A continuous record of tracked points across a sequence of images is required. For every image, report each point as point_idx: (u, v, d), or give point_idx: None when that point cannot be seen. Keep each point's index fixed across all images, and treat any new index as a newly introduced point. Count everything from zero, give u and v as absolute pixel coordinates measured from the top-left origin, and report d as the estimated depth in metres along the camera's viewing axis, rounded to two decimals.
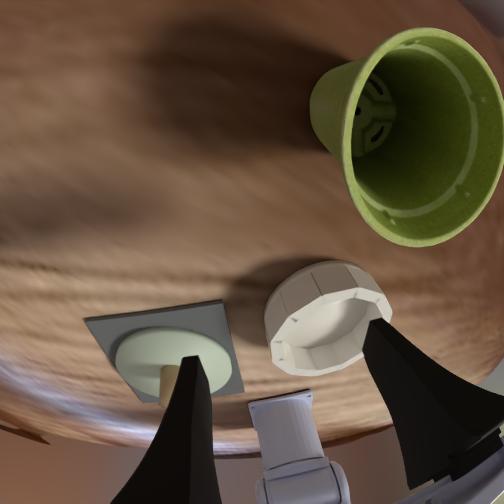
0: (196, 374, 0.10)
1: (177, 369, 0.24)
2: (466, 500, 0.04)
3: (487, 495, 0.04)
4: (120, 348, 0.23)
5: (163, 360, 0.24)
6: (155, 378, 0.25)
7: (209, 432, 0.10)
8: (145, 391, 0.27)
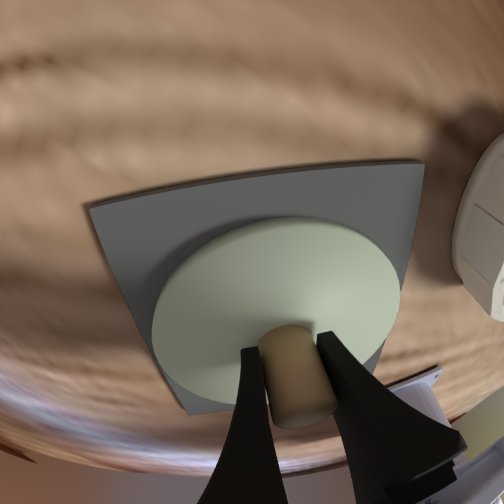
0: (261, 364, 0.10)
1: (305, 333, 0.11)
2: (466, 500, 0.04)
3: (487, 495, 0.04)
4: (173, 283, 0.10)
5: (275, 314, 0.11)
6: (239, 363, 0.12)
7: None
8: (205, 394, 0.14)
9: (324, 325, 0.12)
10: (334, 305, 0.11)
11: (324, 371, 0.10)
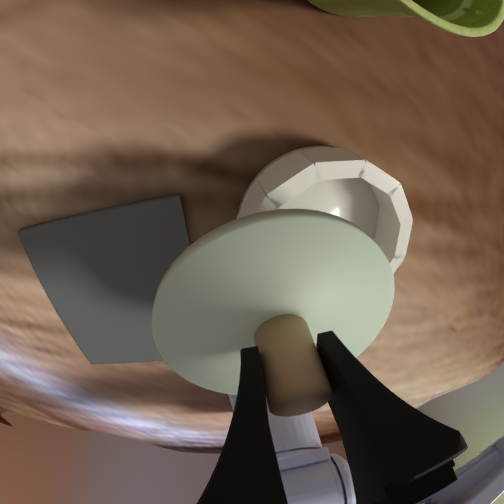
0: (261, 364, 0.10)
1: (301, 323, 0.12)
2: (466, 500, 0.04)
3: (487, 495, 0.04)
4: (177, 268, 0.10)
5: (274, 304, 0.11)
6: (235, 352, 0.13)
7: None
8: (200, 382, 0.14)
9: (320, 317, 0.12)
10: (331, 297, 0.12)
11: (320, 360, 0.10)
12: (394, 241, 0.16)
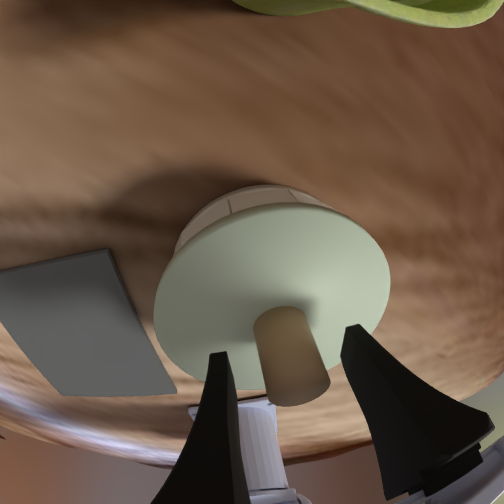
0: (227, 370, 0.10)
1: (300, 315, 0.12)
2: (466, 500, 0.04)
3: (487, 495, 0.04)
4: (180, 257, 0.10)
5: (273, 294, 0.12)
6: (234, 343, 0.13)
7: (237, 429, 0.10)
8: (199, 375, 0.14)
9: (318, 309, 0.13)
10: (328, 289, 0.12)
11: (317, 350, 0.11)
12: None
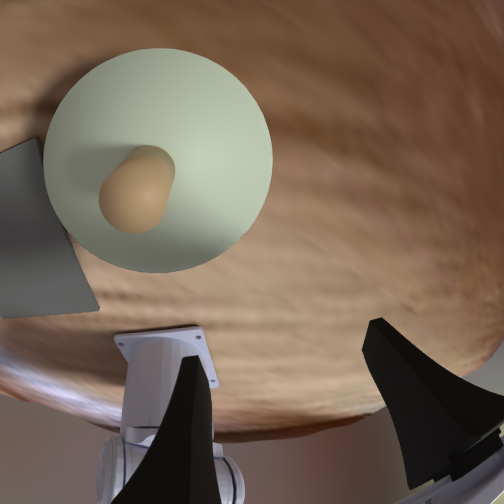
0: (196, 374, 0.10)
1: (160, 150, 0.11)
2: (466, 500, 0.04)
3: (487, 495, 0.04)
4: (64, 99, 0.09)
5: (136, 131, 0.11)
6: None
7: (209, 432, 0.10)
8: (84, 242, 0.13)
9: (185, 152, 0.12)
10: (191, 127, 0.11)
11: (162, 168, 0.10)
12: None
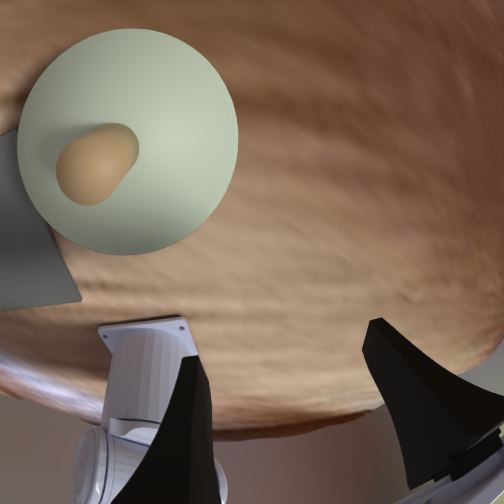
0: (196, 374, 0.10)
1: (123, 127, 0.10)
2: (466, 500, 0.04)
3: (487, 495, 0.04)
4: (35, 85, 0.09)
5: (101, 110, 0.10)
6: None
7: (209, 432, 0.10)
8: (56, 225, 0.13)
9: (148, 128, 0.11)
10: (154, 102, 0.11)
11: (119, 140, 0.09)
12: None
